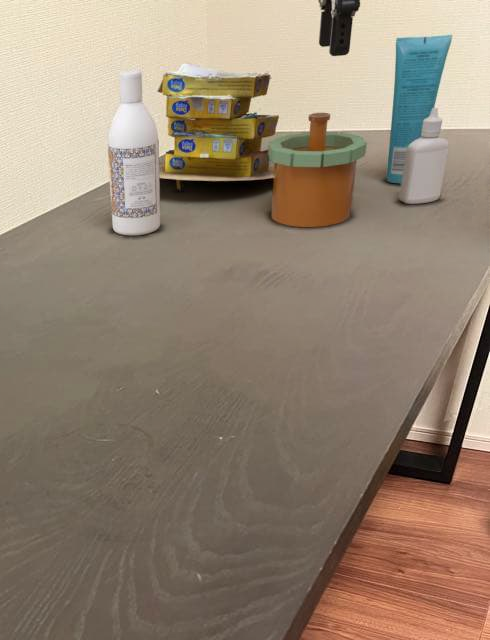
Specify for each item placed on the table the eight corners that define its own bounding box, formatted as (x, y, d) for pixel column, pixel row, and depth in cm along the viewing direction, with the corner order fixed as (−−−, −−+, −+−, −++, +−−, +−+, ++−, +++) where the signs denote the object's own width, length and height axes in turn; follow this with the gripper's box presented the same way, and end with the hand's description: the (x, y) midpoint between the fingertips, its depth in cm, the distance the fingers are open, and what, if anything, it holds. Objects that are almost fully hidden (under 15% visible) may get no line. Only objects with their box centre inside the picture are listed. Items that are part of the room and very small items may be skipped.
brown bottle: (342, 201, 117) (354, 103, 109) (356, 224, 109) (370, 120, 101) (267, 206, 119) (273, 109, 110) (275, 229, 110) (282, 126, 102)
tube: (422, 174, 125) (447, 31, 113) (430, 183, 121) (457, 36, 109) (374, 177, 126) (393, 36, 114) (380, 186, 122) (401, 40, 110)
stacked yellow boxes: (181, 159, 144) (180, 53, 134) (309, 170, 132) (319, 54, 122) (104, 196, 130) (97, 80, 119) (240, 212, 117) (245, 84, 107)
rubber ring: (354, 141, 113) (356, 128, 112) (371, 164, 103) (373, 151, 102) (265, 146, 114) (265, 134, 113) (273, 170, 104) (273, 157, 103)
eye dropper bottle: (440, 205, 112) (458, 111, 105) (398, 204, 114) (413, 112, 107) (439, 196, 116) (456, 104, 108) (398, 196, 117) (412, 105, 110)
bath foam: (120, 221, 118) (112, 68, 106) (165, 221, 116) (162, 66, 104) (107, 236, 113) (97, 77, 101) (153, 237, 111) (149, 75, 99)
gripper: (399, -129, 80) (376, 56, 90) (371, -124, 91) (354, 40, 101) (323, -120, 81) (309, 62, 91) (305, -117, 92) (294, 45, 102)
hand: (333, 50), depth 96 cm, fingers open, 8 cm apart
